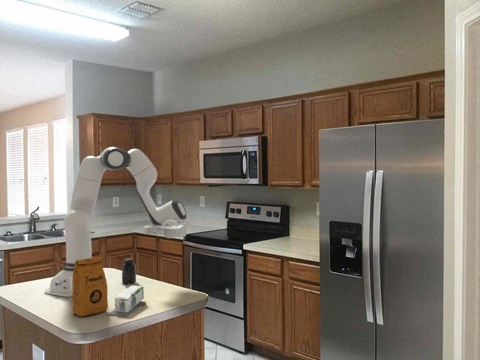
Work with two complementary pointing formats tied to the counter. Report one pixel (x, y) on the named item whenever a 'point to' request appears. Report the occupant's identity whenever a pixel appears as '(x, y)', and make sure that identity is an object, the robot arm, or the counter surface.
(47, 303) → the counter surface
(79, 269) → the coffee package
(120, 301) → the syrup box
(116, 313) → the mat
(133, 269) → the supplement bottle
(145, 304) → the brown block
